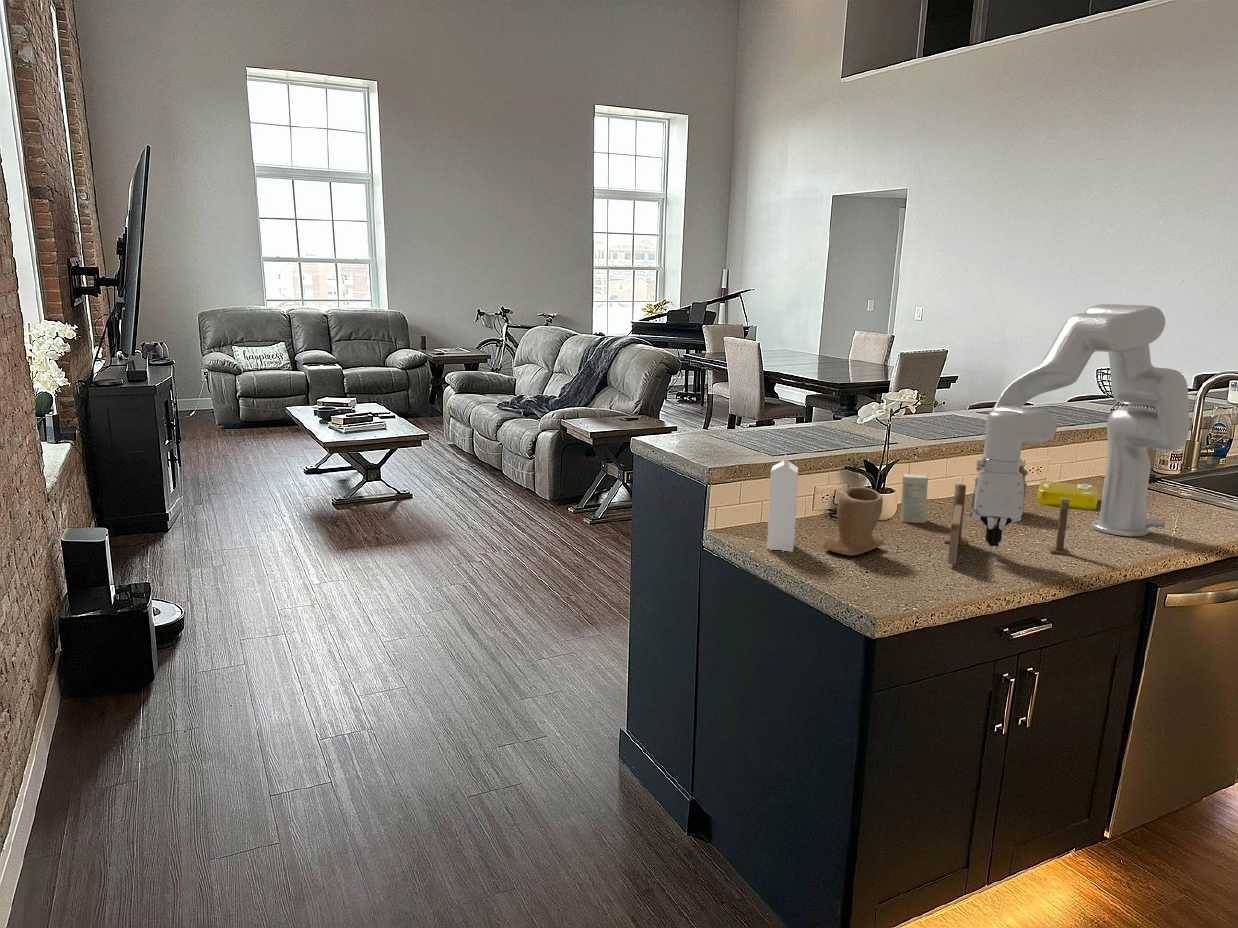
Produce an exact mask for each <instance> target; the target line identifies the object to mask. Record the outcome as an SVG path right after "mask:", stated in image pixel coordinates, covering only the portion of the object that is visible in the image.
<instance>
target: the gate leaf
mask: <svg viewBox="0 0 1238 928" xmlns="http://www.w3.org/2000/svg"><path fill="white" fill-rule="evenodd" d="M961 513H962V504H955V507H954V513H953V512H952V514H953V519H952V518H951V527H950V535H951V536H950V535H949V536H950V544H949V548H948V560H947V564H951V565H957V557H958V546H959V545H958V542H959V534H960V524H961Z"/></svg>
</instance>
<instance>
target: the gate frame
mask: <svg viewBox="0 0 1238 928" xmlns="http://www.w3.org/2000/svg"><path fill="white" fill-rule="evenodd" d="M966 489H967V485H966V484H961V483H957V484H954V493H953V502H952V503H953V507H952V515H951V516H952V517H951V520H952V519H953V513H954V507H955V504H962V513H961V524H960V534H959V542H958V546H966V547H967V546H968V541H967V540H968V539H967V537H965V536H962V530H963V521H964V520H963V519H964V509H965V502H966V492H967V491H966ZM1060 501H1061V506H1059V507H1060V508H1059V516H1058V525H1057V532H1056V540H1055V541H1056V542H1055V546H1052V545H1049V546H1047V547H1048V550H1049V552H1050V553H1049V554H1051V553H1055V555H1061V554H1066V555H1065V556H1071V552H1070V550H1069V549H1068V547H1064V546H1065V545H1064V544H1065V537H1066V532H1067V531H1066V530H1067V523H1068V521H1067V520H1068V513H1069V507H1068V506H1069V503H1070V499H1069V498H1060ZM950 536H951V534H950V535H943V540H944V544H947V545H950Z"/></svg>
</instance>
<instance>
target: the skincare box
mask: <svg viewBox="0 0 1238 928" xmlns="http://www.w3.org/2000/svg"><path fill="white" fill-rule="evenodd" d="M928 480H929V476H928V474H913V473H910V474H909V473H903V475H902V488H901V508H900V509H901V510H900V522H902V523H903V522H904V523H916V524H926V518H927V517H926V516H927V500H928V499H927V498H928V483H929V481H928Z"/></svg>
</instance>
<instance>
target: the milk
mask: <svg viewBox="0 0 1238 928" xmlns="http://www.w3.org/2000/svg"><path fill="white" fill-rule="evenodd" d="M798 478H799V467H798V466H796V465H795V464H793V463H792V462H790V461H789V460H787V453H785V455H784V458H783V460H782V461H780V462H778V463H776V464H774V465H772V468H771V469H770V479H769V499H768V500H769V501H768V519H767V520H768V522H767V539H766V541H767V542H766V543H767V544H766V550H767V549H773V550H782V551H781V552H784V551H789V552H788V553H793V552H794V548H795V547H794V546H795V535H796V533H795V531H796V514H797V499H798V495H797V494H798V481H799V480H798Z"/></svg>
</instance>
